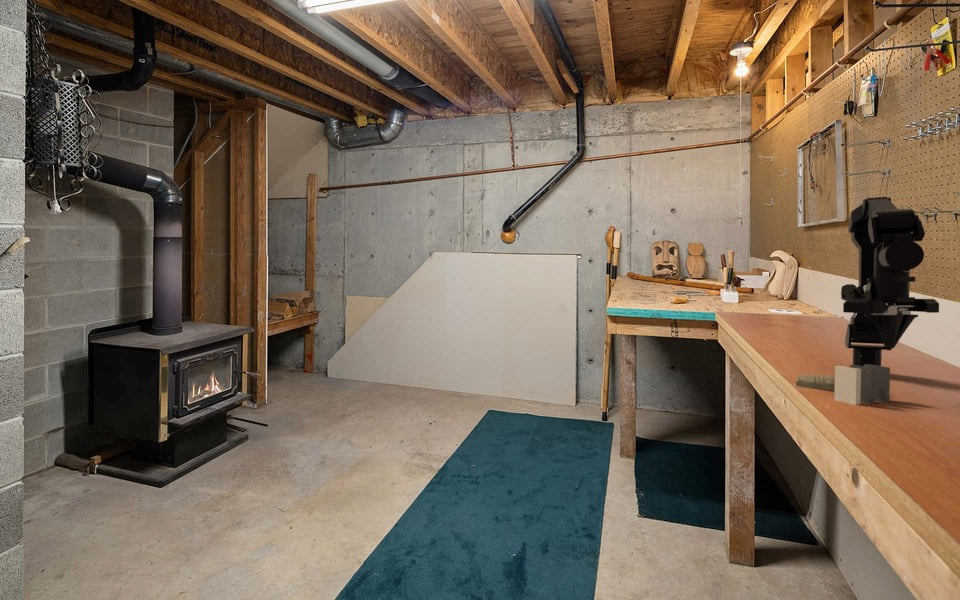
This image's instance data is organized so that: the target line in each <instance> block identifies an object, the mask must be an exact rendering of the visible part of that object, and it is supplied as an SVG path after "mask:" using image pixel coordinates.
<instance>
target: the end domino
mask: <svg viewBox="0 0 960 600" xmlns="http://www.w3.org/2000/svg"><path fill="white" fill-rule="evenodd" d="M834 377H835V391H834V399H833V400H834V401H837V402H841V403H845V404H849V405H854V406H858V405H859V406H860V405H861V402H860V392H861V369H857V368H851V367H849V366H845V365H844V366H843V365H835V366H834Z"/></svg>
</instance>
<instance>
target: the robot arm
mask: <svg viewBox="0 0 960 600" xmlns="http://www.w3.org/2000/svg"><path fill="white" fill-rule="evenodd" d="M849 215H850V216H849V219H848V222H847V223H848V224H847V225H848V227H847V228H848V230H847V231H848V233H850V240H851V242H852V243H853V244H854V245H855V247H856V248H857V249H858V286H856V285H855V284H853V283H851V284H850V283H849V284H848V283H846V284H845V285H842V286H841V288H840V289H841V291H840V295H841V297H840V298H841V300H842V301H844V302H843V303H842V307H843V309H842V310H843V311H842V313H847V314H848V313H850V314H852V315H851V317H850V319H849V320H850V321H849V322H850V323H848V324H847V327H846V331H845V332H846V333H845V338H844V341H845V342H844V343H845V344H844V345H845V348H847V349H852V365H857V366H864V364H870V365H877V366H882V353H883V351H882V350H885V351H892V350H893V349H895V347H896V346H897V344H898V343H899V342H900V340H901V338H902V336H903V335H904V334H905V332H906V331H907V329H908V328H909V326H910V325H911V324H912V323H913V322H914V320H915V319H916V318H918V317H919V314H912V312H920V313H927V314H928V313H930V314H932V313H934V314H936V313H940V303H939V302H938V301H937V300H936V299H935V298H916V297H915V296H910V287H911V286H910V285H911V284H910V283H913V282H914V283H916V276H911V270H914V269H916V268H917V267H919V266H920V265H921V264H922V262H923V261H924V257H925V251H924V250H923V248H922V246H921V245H920V244H919V243H920V242H922V241H923V240H924V238H925V235H926V231H925V228H924V226H923V222H922V220H921V219H920V217H919V215H918V214H916V212H915V210H914V209H911V208H898V207H897V206H896V205H895V204H894V203H893V202H892V198H891V197H888V196H876V197H866V198H864V199H862V202H861V204H860V205H858V206H857V207H856V208H854V209H852V210H851V212H850V214H849ZM917 242H919V243H917ZM854 343H855V344H854Z"/></svg>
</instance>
